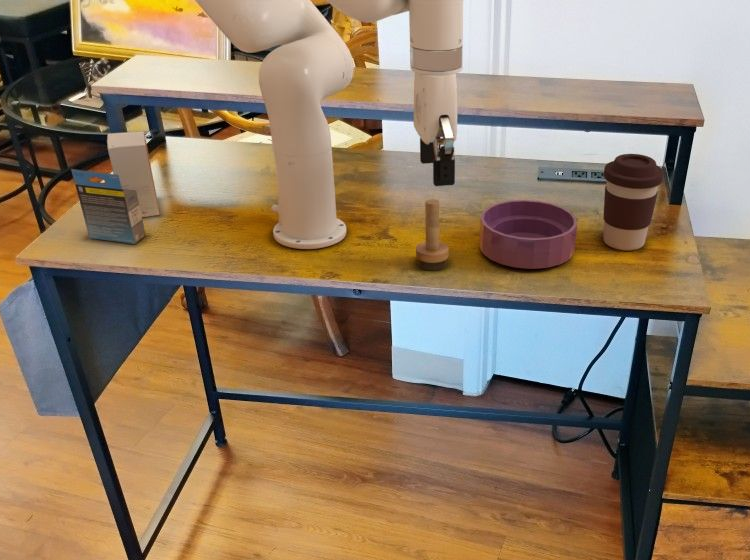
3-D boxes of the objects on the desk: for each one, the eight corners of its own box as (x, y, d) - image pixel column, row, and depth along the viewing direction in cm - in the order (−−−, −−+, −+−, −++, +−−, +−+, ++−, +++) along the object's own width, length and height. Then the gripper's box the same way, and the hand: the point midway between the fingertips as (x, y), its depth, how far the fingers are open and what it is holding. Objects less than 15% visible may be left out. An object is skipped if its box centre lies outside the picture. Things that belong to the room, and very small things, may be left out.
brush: (409, 264, 138) (408, 201, 132) (432, 253, 141) (432, 192, 135) (432, 274, 135) (432, 211, 129) (455, 264, 139) (456, 201, 132)
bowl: (460, 251, 143) (460, 218, 139) (519, 223, 153) (522, 192, 149) (534, 282, 134) (536, 248, 131) (592, 251, 144) (596, 219, 141)
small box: (160, 215, 151) (146, 144, 143) (122, 219, 149) (106, 148, 141) (158, 199, 157) (144, 130, 149) (122, 202, 155) (106, 133, 147)
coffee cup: (614, 226, 153) (625, 145, 145) (662, 242, 148) (676, 159, 140) (584, 243, 147) (594, 160, 138) (633, 260, 142) (646, 175, 133)
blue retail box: (147, 235, 144) (132, 166, 137) (135, 245, 141) (119, 175, 133) (100, 229, 145) (84, 160, 138) (87, 238, 142) (69, 168, 135)
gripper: (399, 45, 126) (403, 156, 135) (422, 75, 112) (424, 196, 122) (448, 43, 127) (448, 153, 137) (476, 72, 114) (474, 192, 123)
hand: (437, 173), depth 129 cm, fingers open, 9 cm apart
